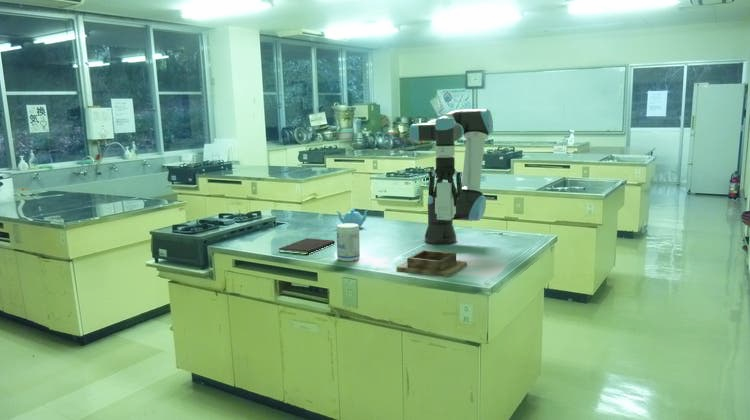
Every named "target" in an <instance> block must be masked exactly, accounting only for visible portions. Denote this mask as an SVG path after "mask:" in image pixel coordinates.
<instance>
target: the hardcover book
mask: <svg viewBox="0 0 750 420" xmlns="http://www.w3.org/2000/svg"><path fill="white" fill-rule="evenodd" d="M334 243H335V244H336V241H335V240H333V239H332V240H331V239H323V238H322V239H320V238H311V237H310V238H303V239H301V240H299V241H296V242H292V243H290V244H287V245H285V246H282V247H279V248H278V250H279V251H280V250H284V251H291V252H299V253H306V254H309V253H311V252H314V251H316V250H319V249H321V248H324V247H326V246H329V245H331V244H334ZM335 244H334V245H335ZM331 246H332V245H331ZM329 247H330V246H329ZM324 249H325V248H324ZM319 251H320V250H319ZM314 253H315V252H314Z"/></svg>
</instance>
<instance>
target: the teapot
mask: <svg viewBox="0 0 750 420" xmlns="http://www.w3.org/2000/svg"><path fill="white" fill-rule="evenodd" d="M368 211H369V209H367V210H365V211H364V213H363V217H362V215H361V214H360V212H359V211H356V210H355V207H352V209H350V210H349V211H347V212H346V213H345V214H344V216H343V217H342V214H341V212H340V211H338V210H336V211H335V212H336V213H337V214H338V218H339V221H340V223H341V224H344V223H354V224H358V225H359V228H360V227H362V226H363V224H364V223H365V221H366V220H367V212H368Z"/></svg>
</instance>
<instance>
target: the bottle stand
mask: <svg viewBox="0 0 750 420" xmlns="http://www.w3.org/2000/svg"><path fill="white" fill-rule="evenodd" d="M467 266H468V261H465V260H464V261H462V260H457V253H456V252H448V251H436V250H430V249H429V250H427V249H422V250H420V251H417V253H415V254H412V255H411V256H408V257H407V258H406V261H405V262H403V263H402V264H400V265H397V266H396V271H397V270H398V271H397V272H403V271H404V273H411V272H413V274H418V275H419V274H421V275H429V276H437V277H445V278H451V277H452V276H455V275H456V274H457V273H459V272H460V271H461V270H463V269H464V268H466V267H467Z"/></svg>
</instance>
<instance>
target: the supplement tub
mask: <svg viewBox="0 0 750 420" xmlns="http://www.w3.org/2000/svg"><path fill="white" fill-rule="evenodd" d="M360 247H361V246H360V227H359V225H358V224H354V223H344V224H343V223H339V224H337V225H336V256H337V260H338V259H339V260H338V261H340V260H341V262H355V261H358V260H359V259H360V254H361V253H360V249H361V248H360ZM354 260H355V261H354Z"/></svg>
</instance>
